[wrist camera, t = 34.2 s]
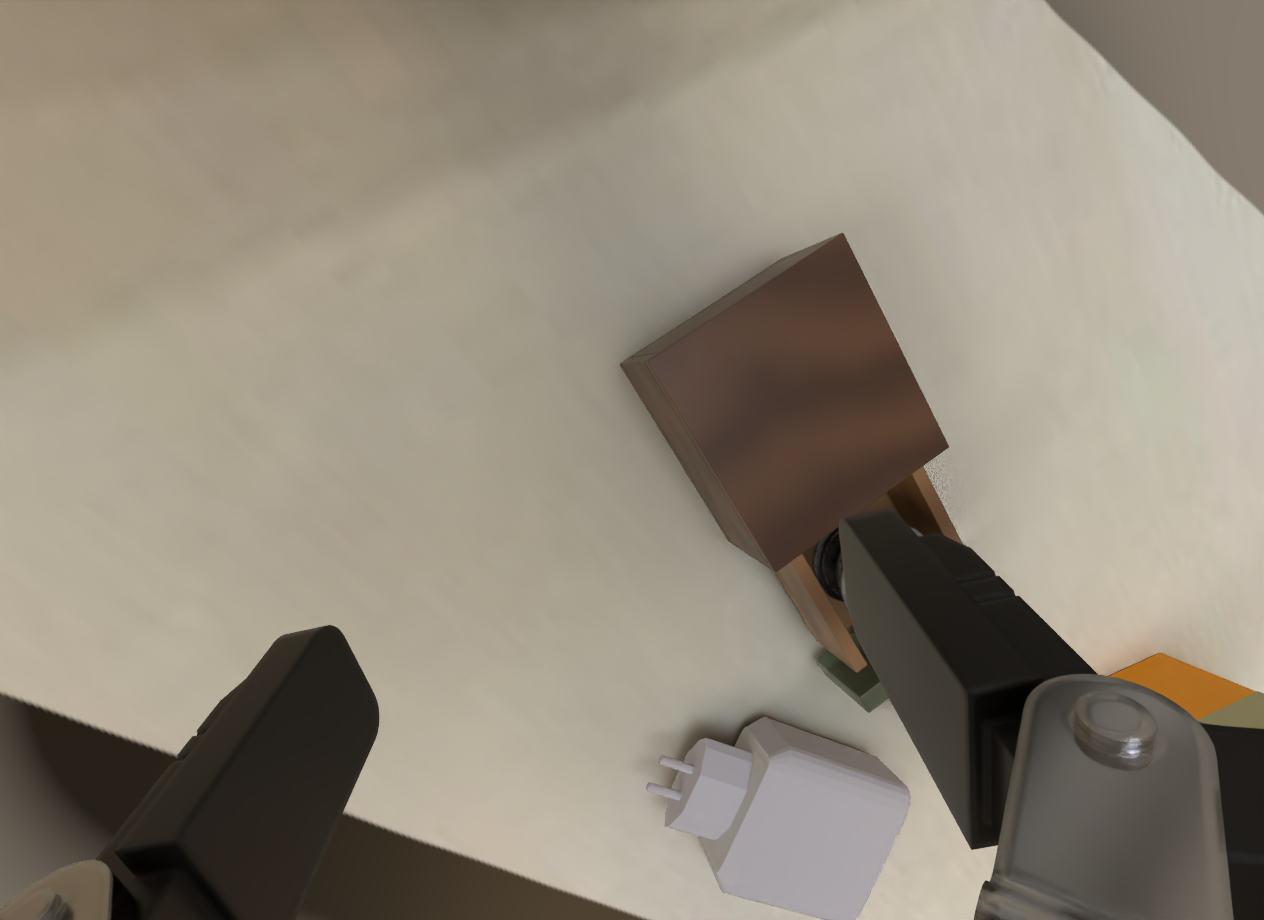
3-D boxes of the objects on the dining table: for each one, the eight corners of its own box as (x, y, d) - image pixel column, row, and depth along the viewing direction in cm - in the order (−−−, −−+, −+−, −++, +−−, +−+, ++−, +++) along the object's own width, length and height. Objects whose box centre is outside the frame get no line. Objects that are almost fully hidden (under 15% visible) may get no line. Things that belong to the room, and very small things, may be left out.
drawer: (978, 636, 41) (1039, 668, 36) (858, 730, 40) (906, 775, 35) (871, 433, 37) (924, 440, 33) (736, 529, 36) (771, 551, 32)
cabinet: (876, 436, 38) (949, 447, 32) (728, 541, 37) (776, 573, 31) (782, 258, 36) (843, 231, 30) (619, 364, 34) (647, 360, 28)
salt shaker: (913, 537, 38) (1100, 606, 26) (865, 621, 38) (1033, 728, 26) (839, 493, 36) (1004, 545, 25) (790, 581, 36) (932, 674, 25)
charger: (675, 679, 37) (869, 750, 41) (611, 816, 38) (811, 874, 41) (700, 721, 33) (917, 796, 37) (628, 876, 33) (851, 935, 37)
